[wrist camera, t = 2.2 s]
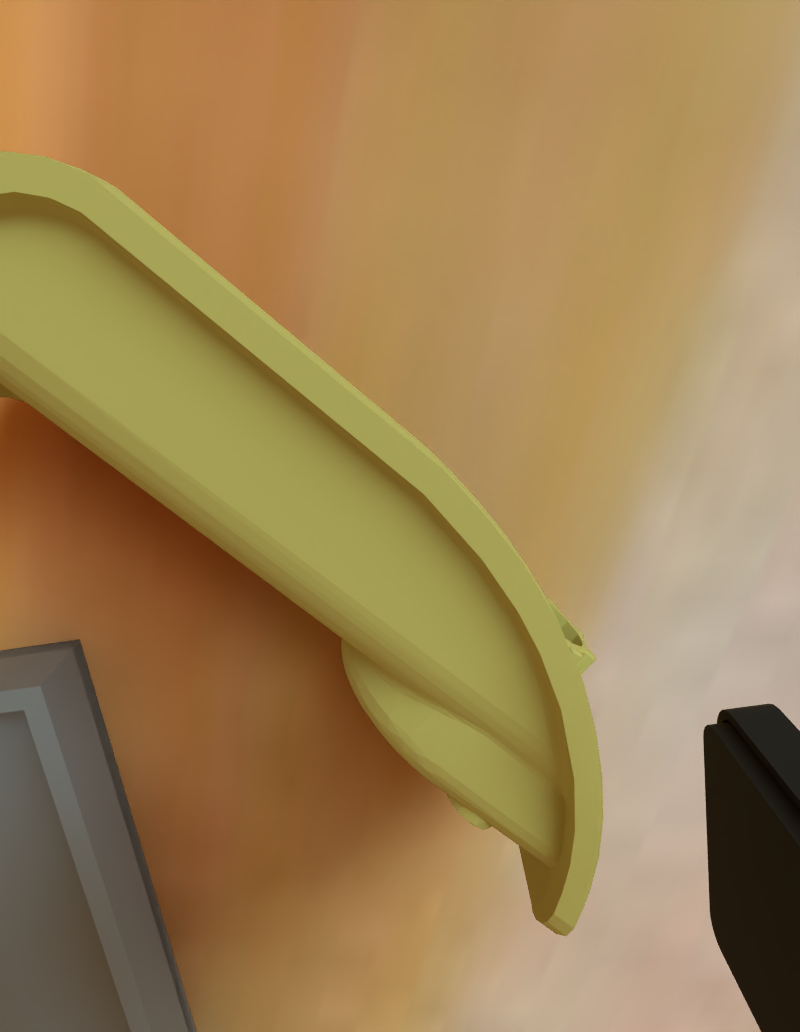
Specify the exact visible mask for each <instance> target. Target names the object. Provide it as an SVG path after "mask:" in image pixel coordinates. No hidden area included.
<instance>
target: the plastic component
mask: <svg viewBox="0 0 800 1032" xmlns="http://www.w3.org/2000/svg"><path fill="white" fill-rule="evenodd" d="M0 397H9V398H13V399H17V400H20V401H24V402H26V403H27V404H29V405H30V406H32V407H33V408H34V409H36V410H37V411H38V412H40V413H41V414H42V415H44V416H45V417H46V418H48V419H49V420H50V421H52V422H53V423H54V424H56V425H57V426H58V427H60V428H61V429H62V430H64V431H65V432H66V433H68V434H69V435H70V436H72V437H73V438H74V439H76V440H77V441H78V442H80V443H81V444H82V445H84V446H85V447H86V448H88V449H89V450H90V451H92V452H93V453H94V454H96V455H97V456H98V457H100V458H101V459H103V460H104V461H105V462H107V463H108V464H109V465H111V466H112V467H113V468H115V469H116V470H117V471H119V472H120V473H121V474H123V475H124V476H125V477H127V478H128V479H129V480H131V481H132V482H133V483H135V484H136V485H137V486H139V487H140V488H141V489H143V490H144V491H145V492H147V493H148V494H149V495H151V496H152V497H153V498H155V499H156V500H157V501H159V502H160V503H161V504H163V505H164V506H165V507H167V508H168V509H169V510H171V511H172V512H174V513H175V514H176V515H178V516H179V517H180V518H182V519H183V520H184V521H186V522H187V523H188V524H190V525H191V526H192V527H194V528H195V529H196V530H198V531H199V532H200V533H202V534H203V535H204V536H206V537H207V538H208V539H210V540H211V541H212V542H214V543H215V544H216V545H218V546H219V547H220V548H222V549H223V550H224V551H226V552H227V553H228V554H230V555H231V556H232V557H234V558H235V559H236V560H238V561H239V562H241V563H242V564H243V565H245V566H246V567H247V568H249V569H250V570H251V571H253V572H254V573H255V574H257V575H258V576H259V577H261V578H262V579H263V580H265V581H266V582H267V583H269V584H270V585H271V586H273V587H274V588H275V589H277V590H278V591H279V592H281V593H282V594H283V595H285V596H286V597H287V598H289V599H290V600H291V601H293V602H294V603H295V604H297V605H298V606H299V607H301V608H302V609H303V610H305V611H306V612H307V613H309V614H310V615H312V616H313V617H314V618H316V619H317V620H318V621H320V622H321V623H322V624H324V625H325V626H326V627H328V628H329V629H330V630H332V631H333V632H334V633H336V634H337V635H338V636H340V637H341V638H342V641H341V652H342V660H343V664H344V668H345V672H346V675H347V677H348V680H349V682H350V685H351V687H352V690H353V692H354V694H355V695H356V697H357V699H358V701H359V703H360V705H361V707H362V708H363V710H364V711H365V712H366V714H367V715H368V716H369V718H370V719H371V721H372V722H373V723H374V725H375V726H376V728H377V729H378V730H379V732H380V733H381V734H382V735H383V736H384V738H385V739H386V740H387V741H388V742H389V744H390V745H391V746H392V747H393V748H394V749H395V750H396V751H397V752H398V753H399V754H400V755H401V756H402V757H403V758H404V759H405V760H406V761H407V762H408V763H409V764H410V765H411V766H412V767H413V768H414V769H415V770H417V771H418V772H419V773H420V774H421V775H422V776H424V777H425V778H426V779H427V780H429V781H430V782H432V783H433V784H434V785H436V786H437V787H438V788H440V789H441V790H443V791H444V792H445V793H447V796H448V798H449V799H450V801H451V802H452V804H453V805H454V807H455V808H456V810H457V811H458V812H459V813H460V814H461V815H462V816H463V817H464V818H465V819H466V820H467V821H468V822H470V823H471V824H472V825H473V826H476V827H478V828H481V829H483V830H484V829H487V828H490V827H491V826H493V827H494V828H496V829H497V830H498V831H500V832H501V833H502V834H504V835H505V836H507V837H508V838H509V839H511V840H512V841H514V842H515V843H516V844H518V845H519V848H520V853H521V857H522V862H523V867H524V871H525V876H526V880H527V885H528V890H529V894H530V899H531V904H532V910H533V914H534V916H535V918H536V920H538V921H539V922H541V923H542V924H543V925H545V926H546V927H547V928H549V929H550V930H552V931H553V932H554V933H556V934H559V935H564V936H567V935H568V934H569V933H570V932H571V931H572V930H573V929H574V927H575V925H576V923H577V921H578V918H579V916H580V914H581V912H582V910H583V907H584V905H585V902H586V899H587V897H588V894H589V892H590V888H591V885H592V881H593V877H594V873H595V869H596V866H597V862H598V858H599V852H600V842H601V832H602V822H603V792H602V772H601V765H600V757H599V750H598V743H597V736H596V730H595V726H594V722H593V718H592V714H591V710H590V706H589V702H588V699H587V695H586V691H585V687H584V683H583V681H582V678H581V676H580V675H581V674H582V673H583V672H584V671H585V670H586V669H587V668H588V667H589V666H590V665H591V664H592V663H593V662H594V661H595V659H596V657H595V655H594V654H593V653H592V652H591V651H590V650H589V649H588V648H587V646H586V644H585V642H584V640H583V637H584V636H583V634H582V633H581V632H580V631H579V630H578V629H577V628H576V627H574V626H573V625H572V624H571V623H570V622H569V621H568V620H567V619H566V618H565V617H564V616H563V615H562V614H561V612H560V611H559V610H558V607H557V606H556V605H555V604H554V603H553V602H552V601H551V600H550V599H548V598H547V597H545V596H544V594H543V592H542V590H541V589H540V587H539V585H538V584H537V582H536V580H535V579H534V577H533V575H532V574H531V572H530V570H529V569H528V567H527V565H526V564H525V562H524V561H523V559H522V558H521V557H520V555H519V554H518V552H517V551H516V549H515V548H514V547H513V545H512V544H511V542H510V541H509V539H508V538H507V537H506V535H505V534H504V533H503V531H502V530H501V529H500V528H499V526H498V525H497V524H496V523H495V521H494V520H493V519H492V518H491V516H490V515H489V514H488V513H487V511H486V510H485V509H484V508H483V506H482V505H481V504H480V503H479V502H478V501H477V499H476V498H475V497H474V496H473V495H472V494H471V493H470V492H469V491H468V489H467V488H466V487H465V486H464V485H463V484H462V483H461V482H460V480H459V479H458V478H457V477H456V476H455V475H454V474H453V473H452V472H451V471H450V470H449V469H448V468H447V467H446V466H445V465H444V464H443V463H442V462H441V461H440V460H439V459H438V458H437V457H436V456H435V455H434V454H433V453H432V452H431V451H430V450H429V449H428V448H427V447H426V446H424V445H423V444H422V443H421V442H420V441H418V440H417V439H416V438H415V437H414V436H412V435H411V434H410V433H409V432H408V431H406V430H405V429H404V428H403V427H402V426H401V425H399V424H398V423H397V422H396V421H395V420H393V419H392V418H391V417H390V416H389V415H387V414H386V413H385V412H384V411H383V410H381V409H380V408H379V407H378V406H377V405H375V404H374V403H373V402H372V401H371V400H369V399H368V398H367V397H366V396H365V395H364V394H362V393H361V392H360V391H359V390H358V389H356V388H355V387H354V386H353V385H352V384H350V383H349V382H348V381H347V380H346V379H344V378H343V377H342V376H341V375H340V374H338V373H337V372H336V371H335V370H334V369H332V368H331V367H330V366H329V365H328V364H326V363H325V362H324V361H323V360H322V359H321V358H319V357H318V356H317V355H316V354H315V353H313V352H312V351H311V350H310V349H309V348H307V347H306V346H305V345H304V344H303V343H301V342H300V341H299V340H298V339H297V338H295V337H294V336H293V335H292V334H291V333H289V332H288V331H287V330H286V329H285V328H284V327H282V326H281V325H280V324H279V323H278V322H276V321H275V320H274V319H273V318H272V317H270V316H269V315H268V314H267V313H266V312H264V311H263V310H262V309H261V308H260V307H258V306H257V305H256V304H255V303H254V302H252V301H251V300H250V299H249V298H248V297H247V296H245V295H244V294H243V293H242V292H241V291H239V290H238V289H237V288H236V287H235V286H233V285H232V284H231V283H230V282H229V281H227V280H226V279H225V278H224V277H223V276H221V275H220V274H219V273H218V272H217V271H215V270H214V269H213V268H212V267H211V266H209V265H208V264H207V263H206V262H205V261H204V260H202V259H201V258H200V257H199V256H198V255H196V254H195V253H194V252H193V251H192V250H190V249H189V248H188V247H187V246H186V245H184V244H183V243H182V242H181V241H180V240H178V239H177V238H176V237H175V236H174V235H172V234H171V233H170V232H169V231H168V230H167V229H165V228H164V227H163V226H162V225H161V224H159V223H158V222H157V221H156V220H155V219H153V218H152V217H151V216H150V215H149V214H147V213H146V212H145V211H144V210H143V209H141V208H140V207H139V206H138V205H137V204H135V203H134V202H133V201H132V200H131V199H130V198H128V197H127V196H126V195H125V194H124V193H122V192H121V191H120V190H119V189H117V188H116V187H114V186H112V185H111V184H109V183H108V182H106V181H104V180H102V179H100V178H98V177H96V176H94V175H92V174H90V173H88V172H86V171H84V170H82V169H79V168H76V167H73V166H70V165H68V164H65V163H62V162H59V161H56V160H53V159H51V158H48V157H44V156H37V155H29V154H21V153H13V152H6V151H1V152H0Z"/></svg>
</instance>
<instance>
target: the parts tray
mask: <svg viewBox="0 0 800 1032" xmlns="http://www.w3.org/2000/svg"><path fill="white" fill-rule="evenodd" d="M0 1032H196V1029H195V1026H194V1022H193V1019H192V1016H191V1012H190V1009H189V1005H188V1002H187V999H186V995H185V992H184V989H183V985H182V982H181V979H180V975H179V972H178V969H177V965H176V962H175V958H174V955H173V952H172V948H171V945H170V942H169V938H168V935H167V932H166V928H165V925H164V922H163V918H162V915H161V912H160V908H159V905H158V901H157V898H156V895H155V891H154V888H153V885H152V881H151V878H150V875H149V871H148V868H147V865H146V861H145V858H144V854H143V851H142V848H141V844H140V841H139V838H138V834H137V831H136V828H135V824H134V821H133V818H132V814H131V811H130V808H129V804H128V801H127V797H126V794H125V791H124V787H123V784H122V781H121V777H120V774H119V771H118V767H117V764H116V761H115V757H114V754H113V750H112V747H111V744H110V740H109V737H108V734H107V730H106V727H105V724H104V720H103V717H102V714H101V710H100V707H99V704H98V700H97V697H96V693H95V690H94V687H93V683H92V680H91V677H90V673H89V670H88V667H87V663H86V660H85V657H84V653H83V650H82V646H81V643H80V640H73V641H66V642H59V643H52V644H45V645H38V646H31V647H24V648H16V649H9V650H2V651H0Z"/></svg>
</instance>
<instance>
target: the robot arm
mask: <svg viewBox="0 0 800 1032" xmlns="http://www.w3.org/2000/svg"><path fill="white" fill-rule="evenodd" d="M704 764H705V791H706V818H707V845H708V872H709V899H710V916H711V922H712V926H713V930H714V934H715V937H716V940H717V943H718V945H719V947H720V950H721V952H722V954H723V956H724V958H725V960H726V962H727V964H728V966H729V968H730V970H731V972H732V974H733V976H734V978H735V980H736V982H737V984H738V986H739V988H740V990H741V992H742V994H743V996H744V998H745V1000H746V1002H747V1004H748V1006H749V1008H750V1010H751V1012H752V1014H753V1016H754V1018H755V1020H756V1022H757V1024H758V1026H759V1028H760V1030H761V1032H800V731H799V730H798V729H797V728H796V727H795V726H794V724H793V723H792V722H791V721H790V720H789V719H788V718H787V717H786V716H785V715H784V714H783V713H782V712H781V710H780V709H779V708H777V707H776V706H775V705H773V704H764V705H756V706H749V707H741V708H733V709H726V710H722V711H721V712H720V713H719V715H718V719H717V724H712V725H707V726H706V727H705V729H704Z"/></svg>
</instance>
